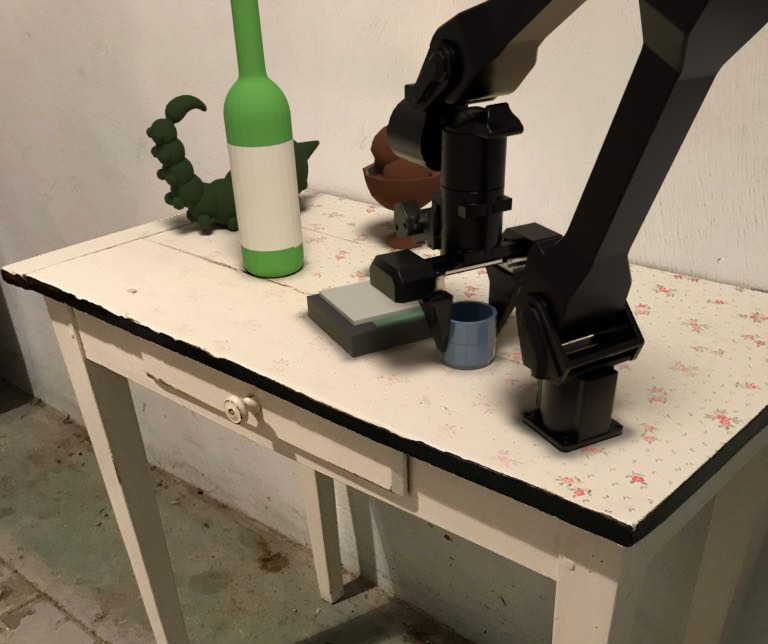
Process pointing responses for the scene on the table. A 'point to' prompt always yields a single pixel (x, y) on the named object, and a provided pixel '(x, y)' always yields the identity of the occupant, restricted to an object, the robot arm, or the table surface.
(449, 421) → the table surface
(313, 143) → the toy figurine
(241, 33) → the wine bottle
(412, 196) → the ice cream bowl
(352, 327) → the kitchen scale
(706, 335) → the table surface
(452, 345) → the small cup
